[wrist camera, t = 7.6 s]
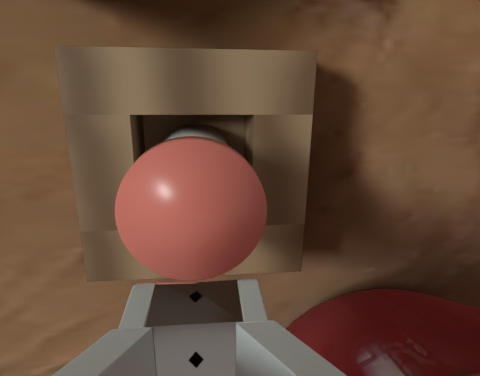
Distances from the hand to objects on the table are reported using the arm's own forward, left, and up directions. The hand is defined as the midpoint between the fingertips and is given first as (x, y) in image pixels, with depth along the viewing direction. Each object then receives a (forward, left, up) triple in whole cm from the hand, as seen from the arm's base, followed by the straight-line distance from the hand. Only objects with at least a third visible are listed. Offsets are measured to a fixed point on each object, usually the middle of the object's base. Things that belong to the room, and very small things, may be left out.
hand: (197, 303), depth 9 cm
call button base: (0, 0, -18) cm, 18 cm away
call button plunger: (0, 0, -16) cm, 16 cm away
